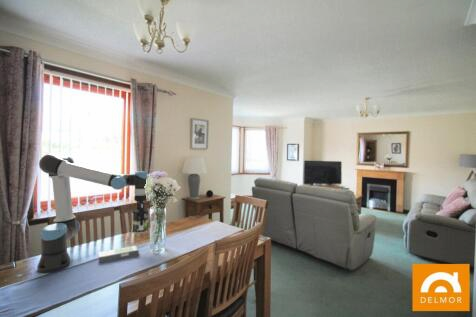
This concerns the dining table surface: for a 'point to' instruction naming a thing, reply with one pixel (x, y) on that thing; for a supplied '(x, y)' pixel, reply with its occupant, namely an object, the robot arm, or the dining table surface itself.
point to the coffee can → (136, 223)
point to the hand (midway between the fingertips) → (139, 227)
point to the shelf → (118, 254)
